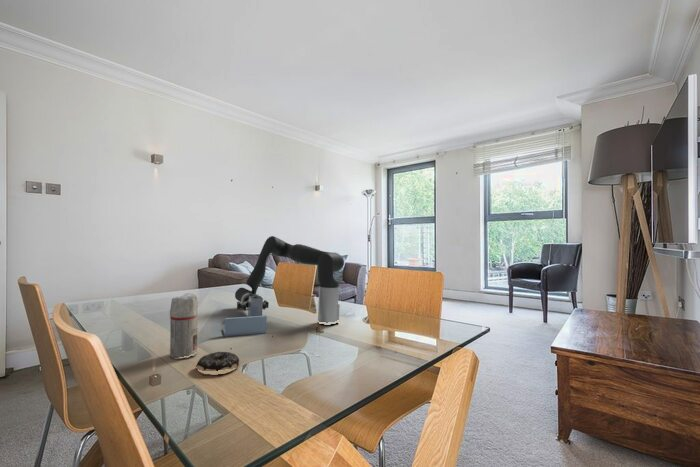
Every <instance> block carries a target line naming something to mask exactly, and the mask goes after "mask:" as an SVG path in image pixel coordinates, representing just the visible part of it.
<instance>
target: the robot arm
mask: <svg viewBox="0 0 700 467" xmlns="http://www.w3.org/2000/svg"><path fill="white" fill-rule="evenodd" d="M261 248H262V249H261V250H260V253H259V256H258V258H257V261H256V263H255V265H254V267H253V269H252V271H251V273H250V274H249V276H248V278H247V279H246V285H247V286H248V287H250V288H251V290H249V289H247V288H245V287H239V288H238V289H236V291H235V293H234V298H235V300H237V301H236V309H237V310H243V311H248V308H249V296H254V295H255V294H257V291H258V289H259V287H260V285H261V283H262V282H263V280H264V277H265V274H266V269H267V268H266V267H267V260H268V258H269V257H270V255H274V256H275V257H283V258H288V259H290V260H291V261H293V262H297V263H300V264H304V265H312V266H317V280H318V284H319V285H318V305H317V306H318V309H317V310H318V311H317V322H318V321H319V322H326V323H328V322H335V321H337V320H339V321H340V306H341V305H340V303H339V288H340V287H339V286H340V283H339V280H337V279H336V278H335V277H334V273H337V272H338V271H340V270H341V269H343V267H344V264H345V262H344V258H343V256H342V255H341V254H339V253H338V252H329V251H324V250H320V249H317V248H315V247H311V246H308V245H305V244H301V243H297V244H291V243H288V242H286V241H284V240H283V239H280V238H278V237H276V236H274V235H270V236H269V237H268V238H267V239H266V240H265V241H264V244H263V246H262V247H261ZM269 303H270V302H269V301H267V300H266V299H263V308H262V311H263V310H266V309H269Z"/></svg>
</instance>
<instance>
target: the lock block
mask: <svg viewBox="0 0 700 467" xmlns="http://www.w3.org/2000/svg"><path fill="white" fill-rule="evenodd" d="M263 301H264V298H263V297H262V296H261V295H259V294H257V293H256V294H255V295H254V296H249V308H248V310H247V311H248V312H247V314H248V315H247V317H252V316H263V309H262V308H263Z"/></svg>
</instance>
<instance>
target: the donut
mask: <svg viewBox="0 0 700 467" xmlns="http://www.w3.org/2000/svg"><path fill="white" fill-rule="evenodd" d="M239 366H240V358H239V356H238V355H237V354H235V353H233V352H228V351H217V352H211V353H209V354H205V355H202V356H201V357H200V358H199V360H198V362H197V363H196V366H195V368H196V367H197V368H196V369H199V370H202V371H218V370H225V369H233V368H237V369H238V368H239Z"/></svg>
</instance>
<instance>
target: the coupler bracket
mask: <svg viewBox="0 0 700 467" xmlns="http://www.w3.org/2000/svg"><path fill="white" fill-rule="evenodd" d="M267 319H268V318H267V315H262V316H252V317H248V316H240V317H238V316H237V317H225V318H224V327H222V333H223V336H224V337H233V336H243V335H245V336H246V335H253V334H255V335H257V334H266V333H267Z"/></svg>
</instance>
